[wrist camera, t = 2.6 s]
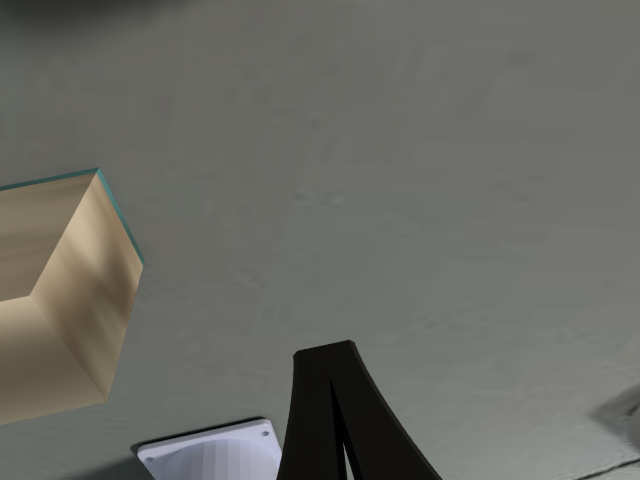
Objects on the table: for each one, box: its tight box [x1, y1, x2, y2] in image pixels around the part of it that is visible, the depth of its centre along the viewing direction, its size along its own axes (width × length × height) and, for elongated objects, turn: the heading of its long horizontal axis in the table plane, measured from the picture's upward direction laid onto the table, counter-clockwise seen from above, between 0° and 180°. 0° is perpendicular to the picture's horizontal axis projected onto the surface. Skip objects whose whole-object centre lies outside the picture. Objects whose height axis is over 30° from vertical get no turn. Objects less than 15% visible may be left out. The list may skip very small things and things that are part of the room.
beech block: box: [0, 168, 144, 425], centre depth 15 cm, size 4×4×7 cm
